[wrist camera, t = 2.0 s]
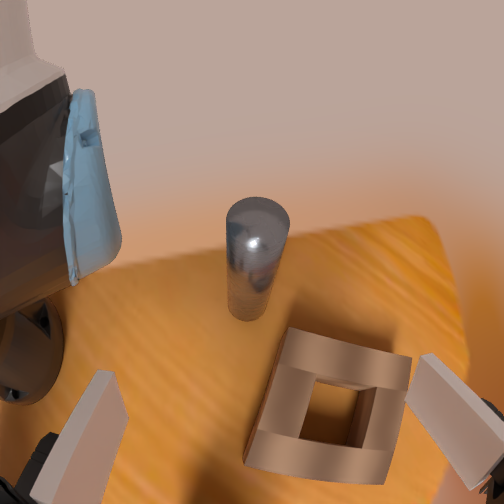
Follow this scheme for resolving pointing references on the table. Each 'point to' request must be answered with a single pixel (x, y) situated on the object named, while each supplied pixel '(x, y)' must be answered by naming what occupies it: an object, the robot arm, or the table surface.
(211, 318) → the table surface
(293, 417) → the square block with hole
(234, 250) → the peg
